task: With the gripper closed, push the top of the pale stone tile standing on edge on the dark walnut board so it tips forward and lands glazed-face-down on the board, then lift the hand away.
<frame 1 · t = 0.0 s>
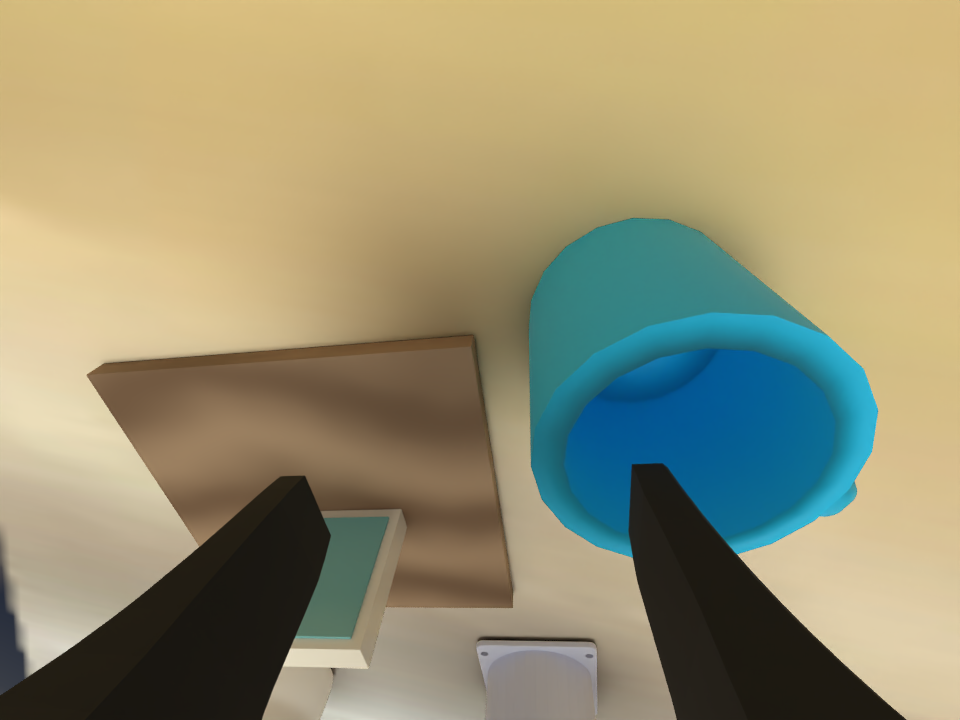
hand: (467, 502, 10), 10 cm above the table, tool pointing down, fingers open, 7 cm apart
tile: (333, 519, 25), point 1 cm above the table, touching board
mug: (666, 338, 19), on the table
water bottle: (292, 659, 36), on the table
board: (334, 492, 25), on the table
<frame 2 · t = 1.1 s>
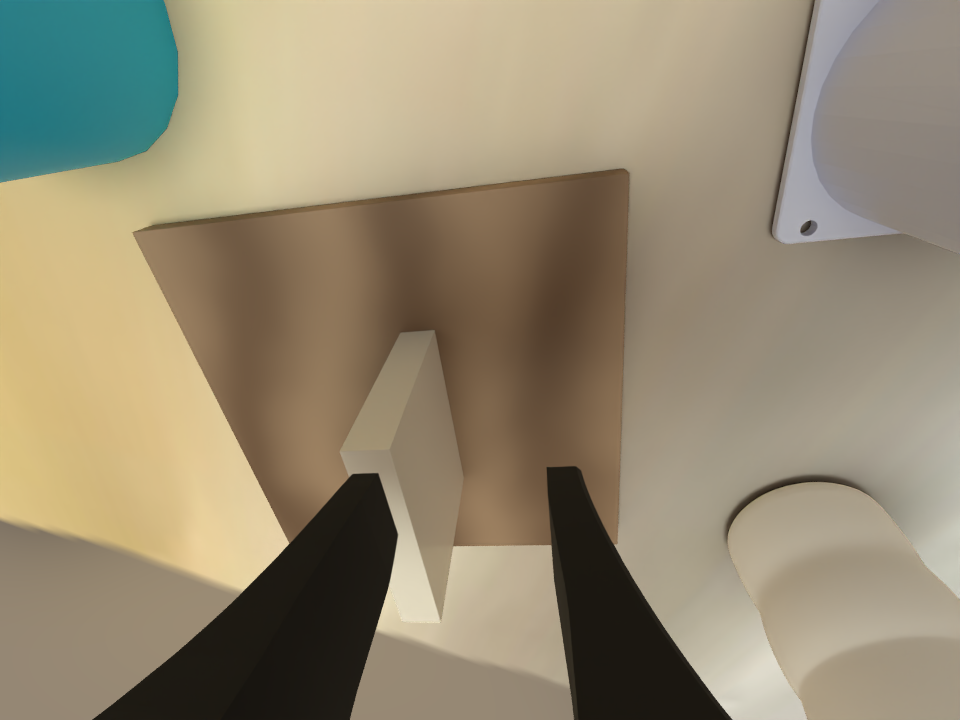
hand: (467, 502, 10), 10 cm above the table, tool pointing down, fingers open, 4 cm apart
tile: (435, 411, 20), point 1 cm above the table, touching board
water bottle: (794, 521, 23), on the table
board: (417, 400, 21), on the table
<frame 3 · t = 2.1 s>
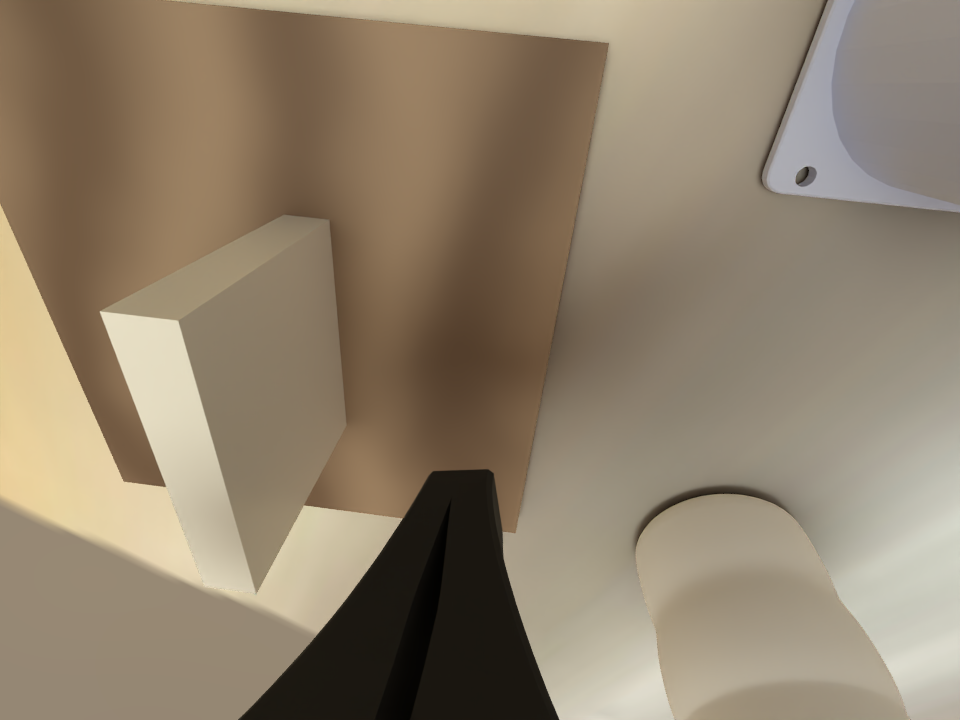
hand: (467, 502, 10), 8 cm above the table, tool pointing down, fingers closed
tile: (319, 333, 16), point 1 cm above the table, touching board
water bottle: (710, 536, 21), on the table
board: (303, 317, 17), on the table
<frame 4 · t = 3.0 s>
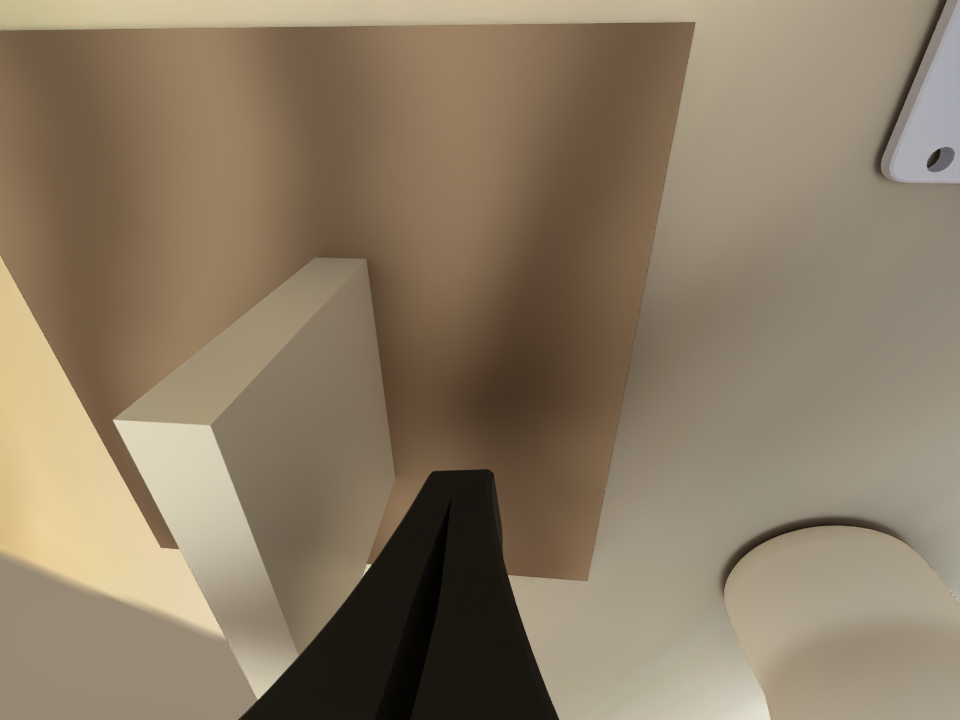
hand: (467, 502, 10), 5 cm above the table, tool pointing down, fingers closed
tile: (360, 383, 14), point 1 cm above the table, touching board
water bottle: (808, 571, 19), on the table
board: (340, 365, 15), on the table
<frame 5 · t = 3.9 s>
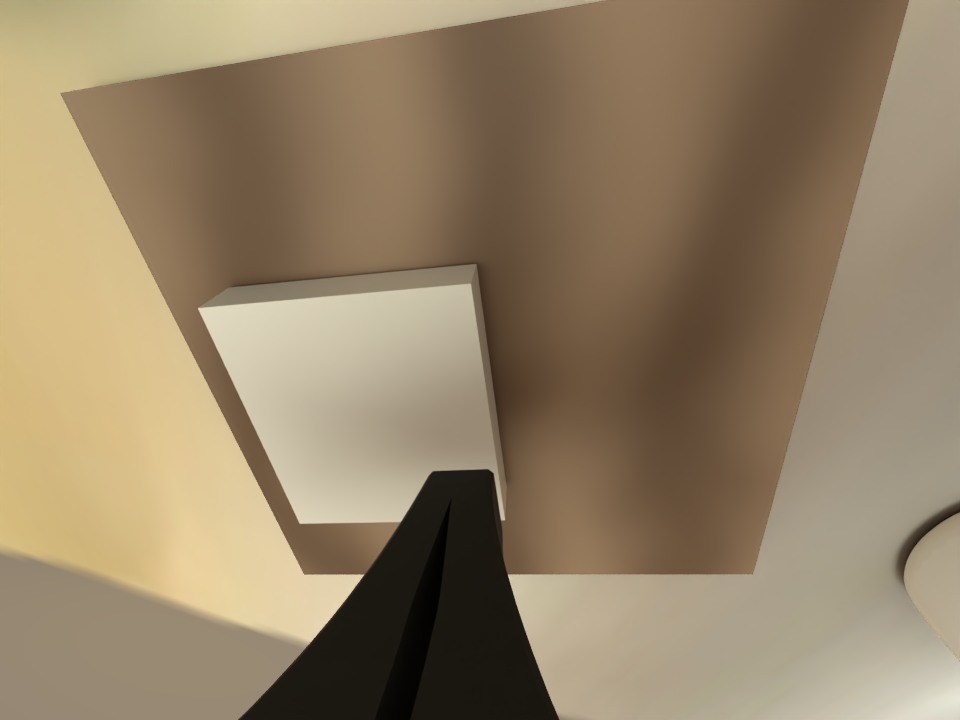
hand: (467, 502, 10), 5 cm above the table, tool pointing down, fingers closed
tile: (492, 405, 13), point 2 cm above the table, tilted 90°, touching board
board: (489, 371, 15), on the table
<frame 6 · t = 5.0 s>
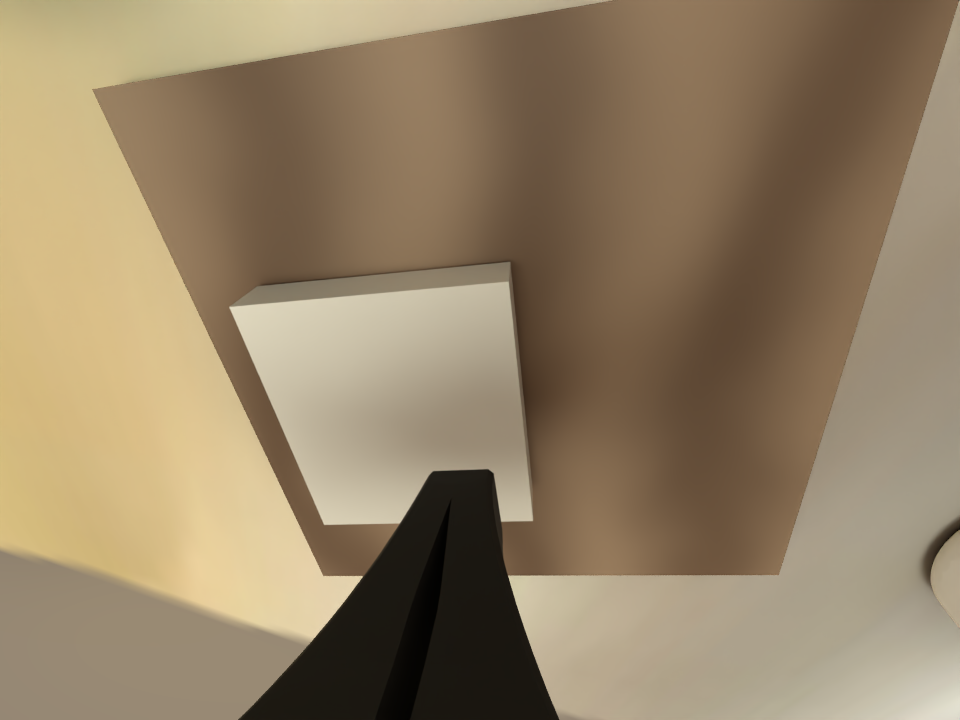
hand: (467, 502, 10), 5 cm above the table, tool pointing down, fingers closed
tile: (522, 405, 13), point 2 cm above the table, tilted 90°, touching board
board: (516, 371, 15), on the table
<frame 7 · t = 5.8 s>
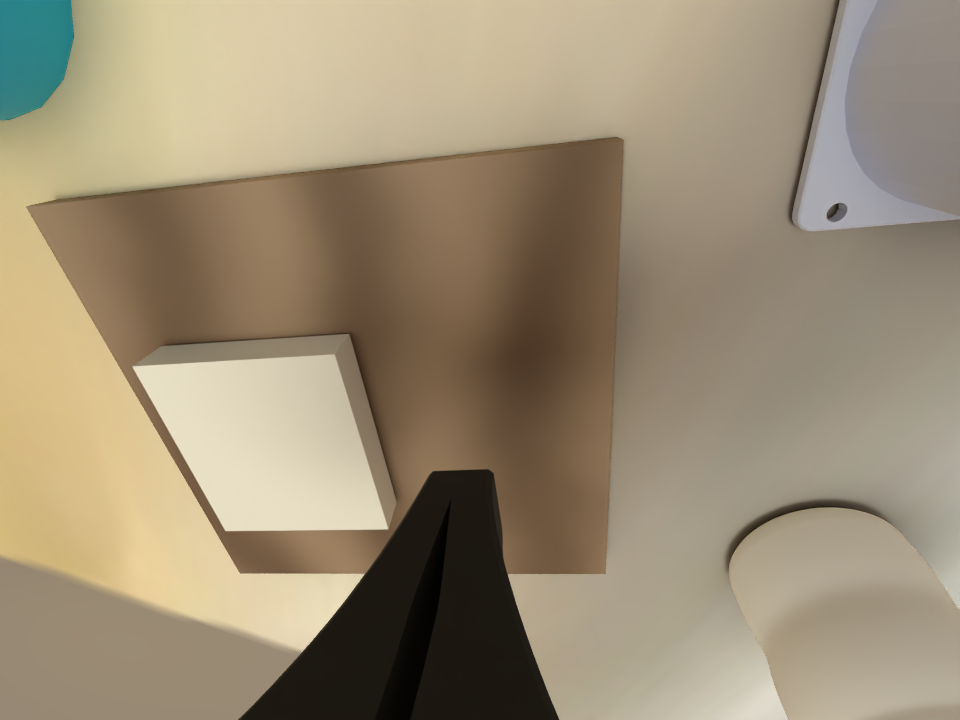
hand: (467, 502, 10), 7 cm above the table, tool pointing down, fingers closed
tile: (370, 439, 17), point 2 cm above the table, tilted 90°, touching board
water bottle: (803, 550, 21), on the table
board: (378, 409, 18), on the table
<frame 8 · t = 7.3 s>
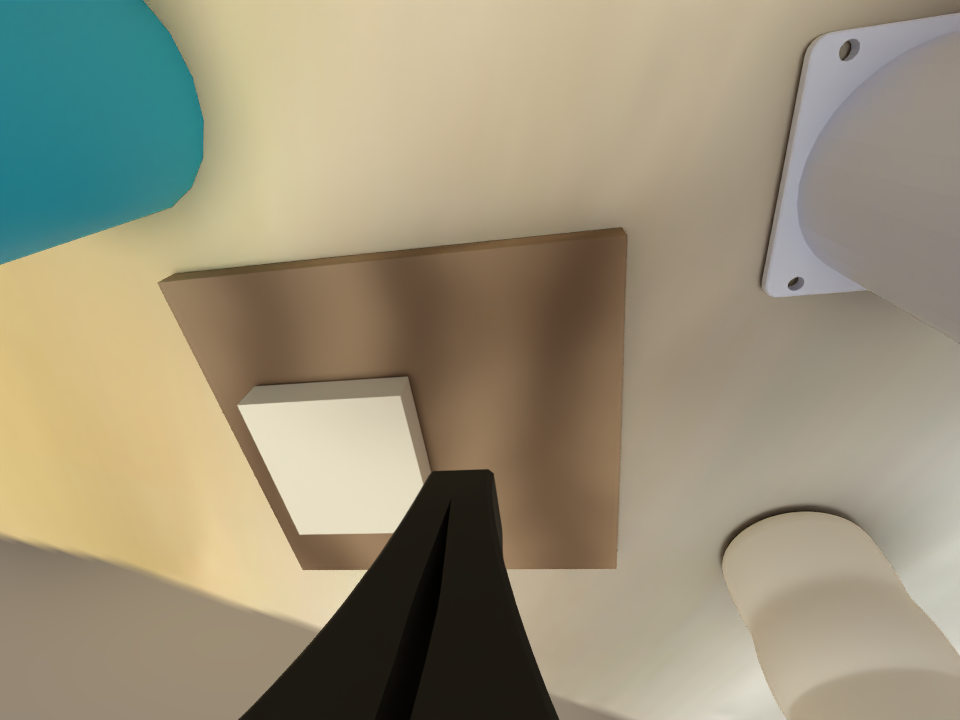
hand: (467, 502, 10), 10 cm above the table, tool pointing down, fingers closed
tile: (422, 459, 21), point 2 cm above the table, tilted 90°, touching board
mug: (95, 37, 15), on the table
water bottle: (786, 547, 24), on the table
board: (425, 433, 22), on the table
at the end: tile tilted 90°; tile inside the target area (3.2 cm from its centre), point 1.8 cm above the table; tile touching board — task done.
